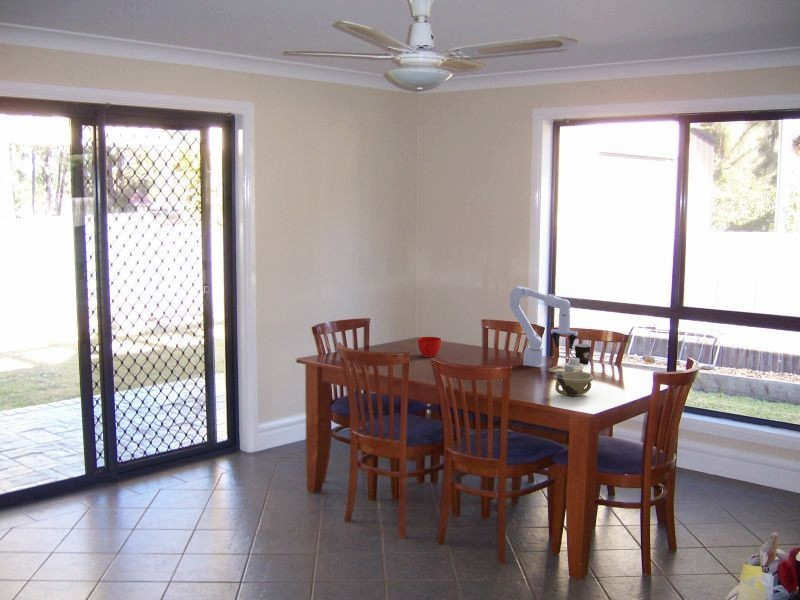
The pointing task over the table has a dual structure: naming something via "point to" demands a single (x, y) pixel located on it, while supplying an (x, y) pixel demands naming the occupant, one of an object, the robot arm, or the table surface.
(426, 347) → the ceramic cup
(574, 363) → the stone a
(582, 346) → the coffee mug
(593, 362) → the table surface
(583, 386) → the bowl
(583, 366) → the dish
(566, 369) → the stone
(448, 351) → the table surface
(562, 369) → the tray
